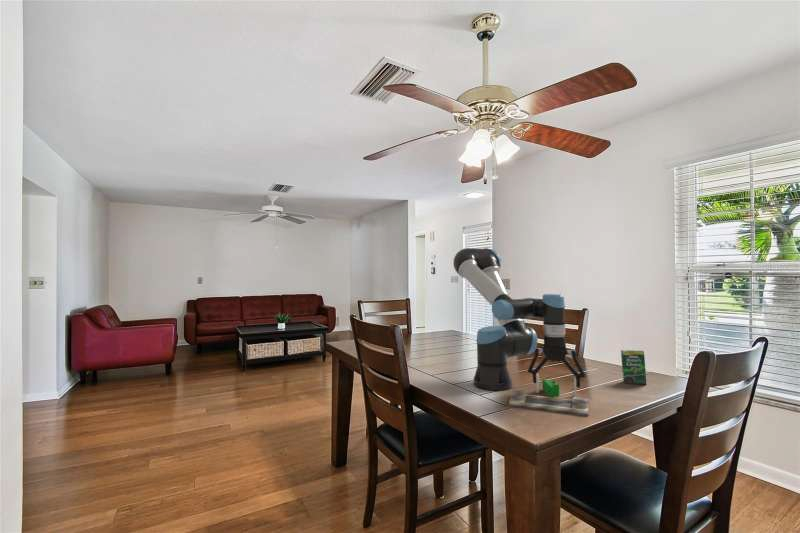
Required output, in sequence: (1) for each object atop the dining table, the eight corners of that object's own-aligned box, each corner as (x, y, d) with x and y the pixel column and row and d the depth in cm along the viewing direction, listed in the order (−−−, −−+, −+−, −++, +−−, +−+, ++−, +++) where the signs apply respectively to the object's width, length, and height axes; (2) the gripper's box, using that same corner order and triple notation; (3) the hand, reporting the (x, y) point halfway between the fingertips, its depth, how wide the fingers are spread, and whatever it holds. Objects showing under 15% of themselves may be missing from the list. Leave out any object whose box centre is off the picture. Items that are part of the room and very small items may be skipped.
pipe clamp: (562, 400, 130) (561, 387, 130) (551, 399, 130) (550, 387, 131) (552, 390, 141) (552, 378, 141) (542, 390, 142) (542, 378, 142)
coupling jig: (508, 405, 125) (507, 394, 125) (512, 396, 134) (512, 386, 134) (589, 416, 114) (589, 404, 114) (588, 405, 123) (588, 394, 123)
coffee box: (622, 382, 148) (621, 350, 149) (622, 381, 151) (620, 349, 151) (646, 385, 145) (645, 352, 145) (645, 383, 147) (644, 350, 148)
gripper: (519, 335, 138) (520, 392, 137) (591, 338, 128) (594, 401, 127) (521, 332, 145) (523, 387, 144) (590, 335, 134) (593, 394, 134)
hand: (556, 393), depth 135 cm, fingers open, 12 cm apart
